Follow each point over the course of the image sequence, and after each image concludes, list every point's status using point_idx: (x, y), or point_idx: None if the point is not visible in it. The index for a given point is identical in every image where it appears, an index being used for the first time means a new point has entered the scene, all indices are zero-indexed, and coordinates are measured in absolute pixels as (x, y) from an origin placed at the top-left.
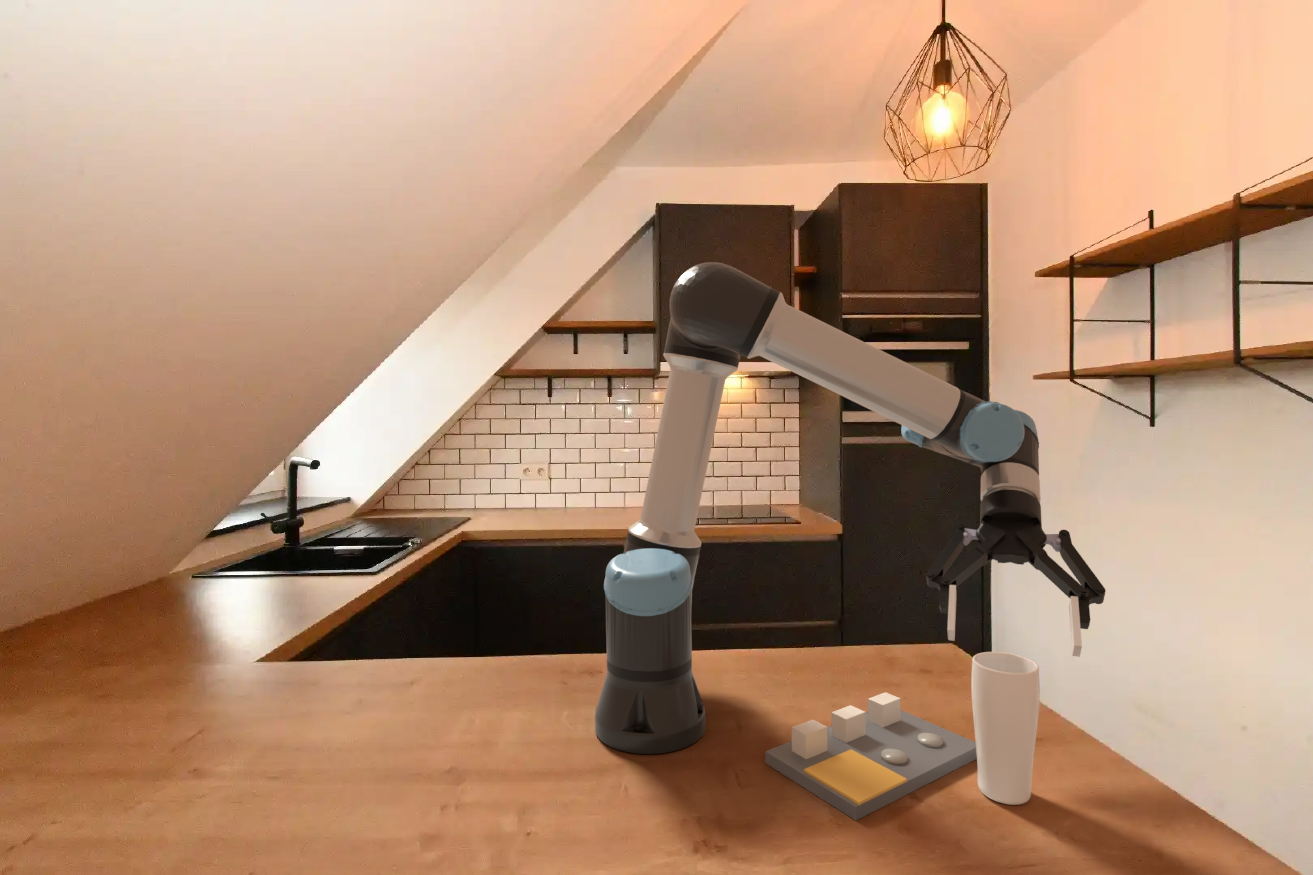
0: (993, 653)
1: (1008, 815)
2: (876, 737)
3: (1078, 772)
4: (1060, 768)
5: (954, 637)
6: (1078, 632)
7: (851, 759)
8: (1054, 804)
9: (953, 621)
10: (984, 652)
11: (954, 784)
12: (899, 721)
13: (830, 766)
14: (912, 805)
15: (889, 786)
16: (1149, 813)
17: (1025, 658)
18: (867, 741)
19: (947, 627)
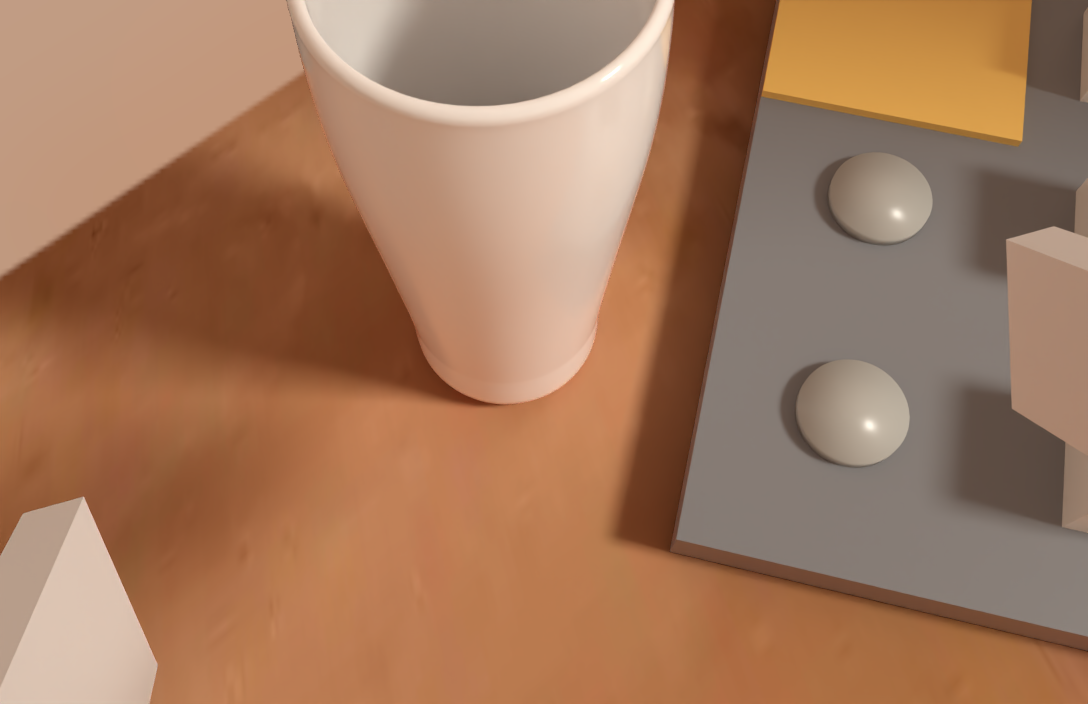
0: (597, 73)
1: None
2: None
3: (305, 695)
4: (374, 679)
5: (1018, 380)
6: (4, 579)
7: (971, 83)
8: (347, 373)
9: (1074, 265)
10: (644, 32)
11: (663, 277)
12: (1057, 514)
13: (988, 6)
14: (709, 85)
15: (779, 19)
16: None
17: (391, 92)
18: None
19: (1069, 232)
